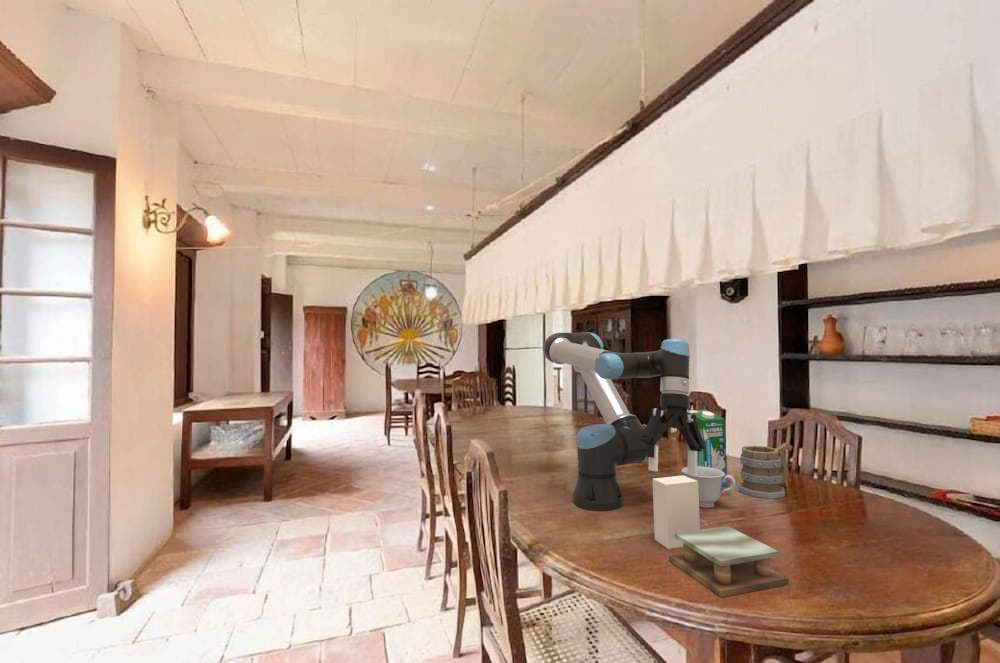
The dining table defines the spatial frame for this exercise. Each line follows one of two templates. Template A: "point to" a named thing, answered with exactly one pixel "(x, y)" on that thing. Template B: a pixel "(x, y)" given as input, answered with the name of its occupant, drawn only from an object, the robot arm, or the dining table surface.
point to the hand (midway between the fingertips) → (673, 473)
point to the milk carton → (711, 441)
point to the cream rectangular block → (675, 508)
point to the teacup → (709, 484)
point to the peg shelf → (737, 576)
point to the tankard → (763, 471)
